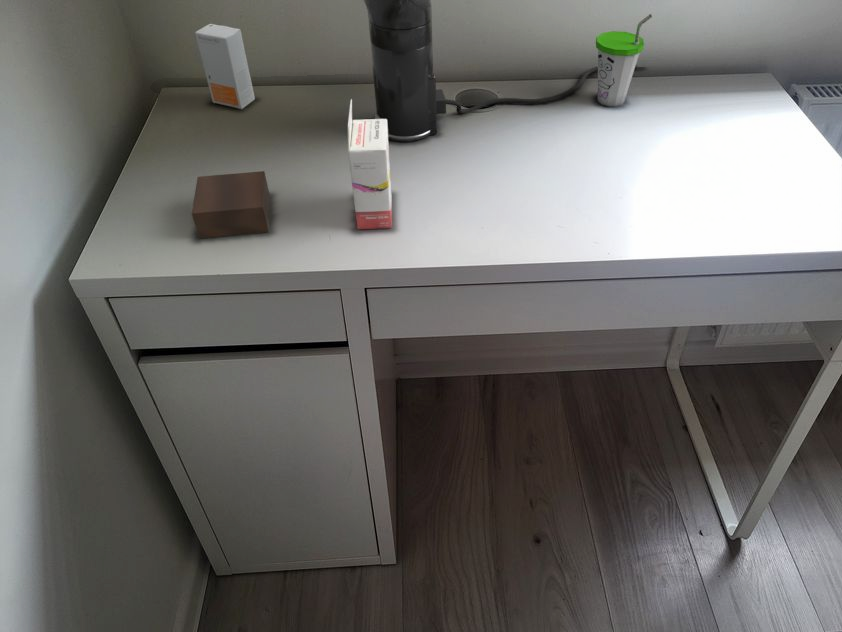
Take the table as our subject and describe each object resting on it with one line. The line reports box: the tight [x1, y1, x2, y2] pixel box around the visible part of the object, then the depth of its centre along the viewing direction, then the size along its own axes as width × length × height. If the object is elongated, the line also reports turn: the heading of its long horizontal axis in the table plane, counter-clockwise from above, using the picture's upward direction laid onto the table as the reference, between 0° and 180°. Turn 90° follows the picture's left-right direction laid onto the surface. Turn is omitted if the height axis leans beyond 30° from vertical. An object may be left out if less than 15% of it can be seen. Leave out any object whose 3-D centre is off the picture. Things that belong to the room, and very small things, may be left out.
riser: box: [191, 170, 271, 239], centre depth 96 cm, size 9×9×4 cm
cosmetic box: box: [194, 23, 256, 110], centre depth 117 cm, size 6×4×12 cm
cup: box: [595, 13, 653, 108], centre depth 117 cm, size 8×8×15 cm
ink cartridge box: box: [347, 98, 393, 230], centre depth 93 cm, size 9×5×15 cm, turn 5°
